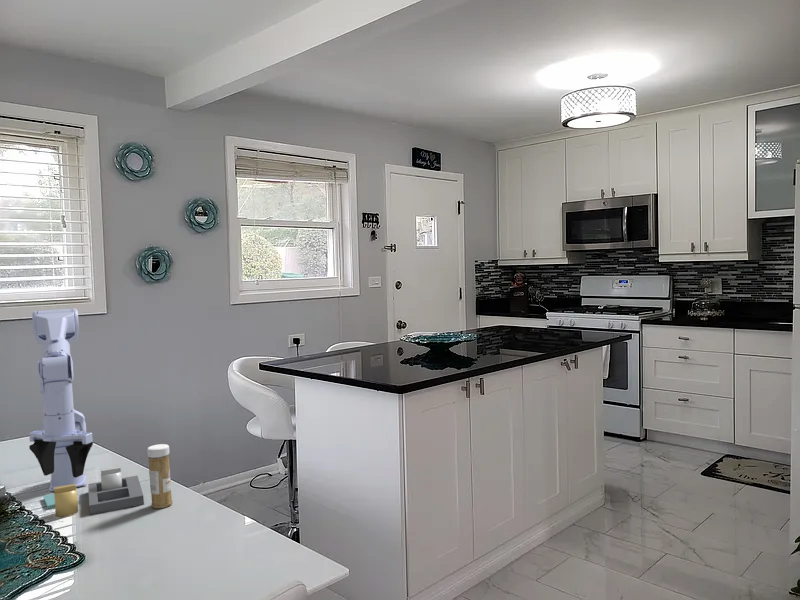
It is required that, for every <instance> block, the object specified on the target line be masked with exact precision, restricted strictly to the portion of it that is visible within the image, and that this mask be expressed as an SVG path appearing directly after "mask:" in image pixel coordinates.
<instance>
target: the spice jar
mask: <svg viewBox="0 0 800 600" xmlns="http://www.w3.org/2000/svg"><path fill="white" fill-rule="evenodd" d="M146 450H147V453H146V454H147V458H148V464H149V465H148V468H149V470H148V474H149V487H150V494H151V496H150V497H151V503H150V504H151V508H153V509H165V508H167V507H169V506H171V505H172V504H173V497H172V482H171V481H172V480H171V479H172V478H171V469H170V457H169V456H170V445H168V444H165V443H160V444H154V445H151V446H148V447H147V449H146Z"/></svg>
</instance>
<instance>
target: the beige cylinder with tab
mask: <svg viewBox="0 0 800 600" xmlns="http://www.w3.org/2000/svg"><path fill="white" fill-rule="evenodd" d="M77 490H78V489H77V487H76V484H71V485H65V486H59V487H54V491H53V492H54V493H53V494H54V499H55V508H54V510H55V516H56V517H58V518H65V517H70V516H71V517H72V516H74V515H75V514H77V513H78V512H79V506H78V505H79V504H78V491H77Z"/></svg>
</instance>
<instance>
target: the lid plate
mask: <svg viewBox="0 0 800 600" xmlns="http://www.w3.org/2000/svg"><path fill="white" fill-rule="evenodd" d="M43 502H44V503H45V506H46V508H47V510H52V509H55V499H54V493H52V494H46V495H43Z"/></svg>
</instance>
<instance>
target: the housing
mask: <svg viewBox="0 0 800 600" xmlns="http://www.w3.org/2000/svg"><path fill="white" fill-rule="evenodd" d="M121 478H122V488H117V489H112V490H106V491H102V485H101V481H97V482H93V483H87V484H88V486H87V487H88V504H89V515H95V514H99V513H101V514H102V513H105V512H111V511H115V510H121V509H125V508H132V507H136V506H141V505H144V504H145V502H144V501H145V500H144V497H145V496H144V494H143V490H142V486H141V484H140V483H141V482H140V480H139V479H140V478H139V476H138V475H132V476H126V477H121Z"/></svg>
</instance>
